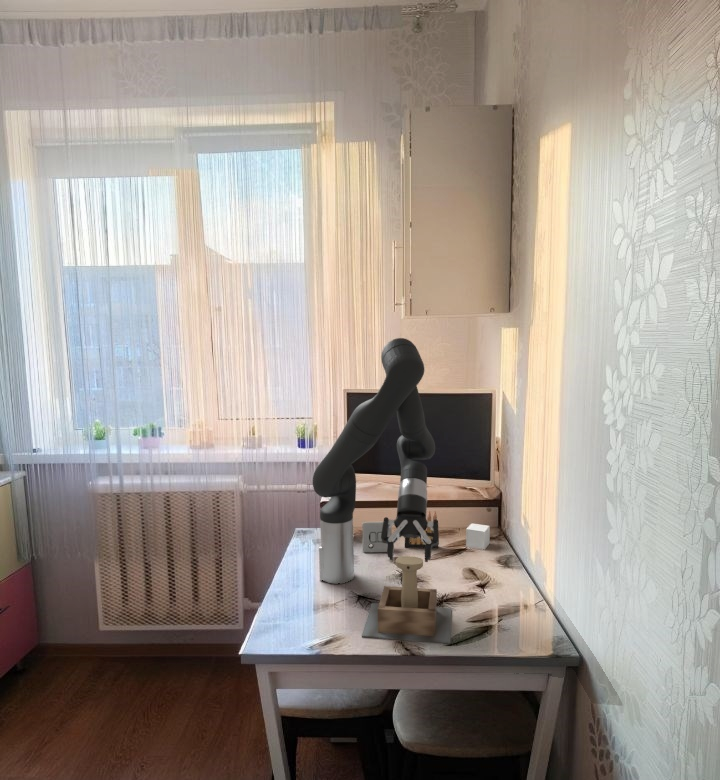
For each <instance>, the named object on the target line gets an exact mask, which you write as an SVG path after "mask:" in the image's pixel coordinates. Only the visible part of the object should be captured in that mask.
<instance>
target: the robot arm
mask: <svg viewBox="0 0 720 780" xmlns="http://www.w3.org/2000/svg"><path fill="white" fill-rule="evenodd" d="M380 358H381V364H382V367H383V370H384V372H385V378H384V381H383V383H382V384H381V386H380V388H379V390H378V391H377V393H376V394H375V395H374V396H373V397H372V398H370V399H367V400H366V401H364V402H362V403H360V404H359V405H358V406H356V408H355V409H354V410H353V411H352V413H351V415H350V416H349V418H348V420H347V422H346V423H345V426H344V427H343V428H342V431H341V433H340V434H339V436H338V438H337V439H336V441H335V443H334V444H333V445H332V447H331V448H330V450H329V451H328V453H327V454H326V455H325V456H324V458H323V459H322V461H321V462H320V463H319V464H318V465H317V467H316V468H315V470H314V473H313V476H312V488H313V490H314V492H315V493H316V495H318V496H319V497H322V498H327V497H331V498H330V500H329V499H328V501H327V502H326V503H325V504H324V505H323V506H322V507H321V508H320V511H319V520H320V521H319V522H320V525H319V526H320V546H319V547H318V560H319V562H318V563H319V567H318V568H319V581H322V580H323V582H325V583H329V584H334V585H337V584H338V583H340V584H344V583H345V582H346V583H348V581H349V582H351V581H353V579H354V578H355V561H354V560H355V558H354V557H355V554H354V552H355V551H354V537H353V534H354V511H355V508H356V499H357V478H356V477H357V476H356V473H355V472H356V471H355V469H354V467H353V464H354V463H355V462H356V461H357V460H358V459H360V458H362V457H363V456H364V455H365V454H367V452H369V451H370V450H371V449H372V448H373V447H374V446H375V445H376V443H377V442H378V440H379V439H380V437H381V436H382V435H383V433H384V432H385V429H386V427H387V426H388V425H389V423H390V421H391V420H392V418H393V417H394V416H395V414H396V417H397V422H398V427H399V432H400V434H401V435H400V436H399V437H398V438H397V442H396V450H397V454H398V458H399V462H400V481H399V482H400V483H399V488H398V493H397V494H398V495H397V504H396V505H397V507H396V508H397V509H396V516H395V517H396V518H394V519H389V517H387V516H386V517H384V518H383V521H382V522H383V527H382V534H381V539H382V542H383V543H386V544H388V548H387V552H386V555H387V558H389V560H390V561H393V560H394V551H395V543H397V542H399V540H401V538H404V539H405V538H409V537H411V538H417V537H420V539H421V540H422V541H423V542H424V543H425V548H424V562H425V563H428V562H429V561H430V560H431V559H432V549H433V548H432V547H433V546H438V547H439V545H440V538H439V537H440V536H439V535H440V534H439V531H440V530H439V520H438V519H437V520H434V521H433V520H431V521H427V508H428V507H427V505H428V489H427V487H428V483H427V481H428V468H427V466H426V465H425V464H424V463H422V462H419V461H416V460H430V459H431V458H432V457H433V456H434V455H435V452H436V443H435V440H434V437H433V436H432V434H431V432H430V431H429V430H428V427H427V425H426V420H425V413H424V412H425V411H424V408H423V404H422V400H421V396H420V393H419V390H418V385H419V383H420V382H421V380H422V379H423V377H424V373H425V363H424V362H423V361H424V360H423V359H422V357H421V354H420V352H419V350H418V348H417V346H416V345H415V344H414V343H413V342H412V341H411V340H409V339H407V338H403V337H398V338H397V337H396V338H394V339H391V340H389V342H387V343H386V344H385V345H384V347H383V349H382V351H381V356H380ZM392 526H394V527H395V528H396V529H395V530H394V531H392V535H391V536H390V537H387V536H388V529H389V528H391V529H392ZM428 526H429V527H430V529H431V530H434V539H431V540H430V539H429V537H428V536H427V534H426V532H425V529H426V530H427V527H428ZM350 580H351V581H350ZM346 583H345V584H346Z"/></svg>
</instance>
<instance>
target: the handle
mask: <svg viewBox="0 0 720 780" xmlns="http://www.w3.org/2000/svg"><path fill="white" fill-rule="evenodd" d="M395 566H396V568H398V569H400V570H401V573H402V576H401V578H402V579H401V580H402V581H401V587H402V593H401V605H402V607H403V608H418V590H417V588H418V579H417V577H418V575H417V572H418V570H420V569H422V568H423V566H424V559H423V558H421V557H418V556H410V555H409V556H407V555H406V556H398V557H397V558H396V559H395Z"/></svg>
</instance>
